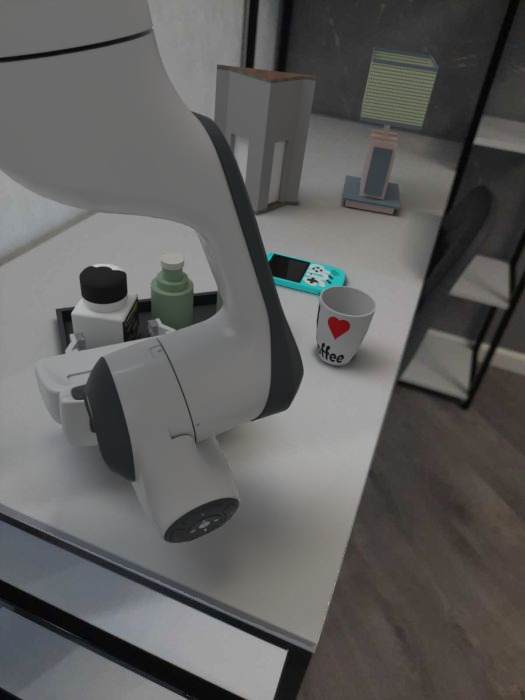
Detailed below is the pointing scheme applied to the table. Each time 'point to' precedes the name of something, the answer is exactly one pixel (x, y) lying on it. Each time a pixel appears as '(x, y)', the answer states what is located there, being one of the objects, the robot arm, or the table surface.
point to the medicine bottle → (105, 307)
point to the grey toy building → (265, 129)
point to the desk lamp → (389, 122)
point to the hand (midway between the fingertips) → (115, 330)
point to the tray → (141, 316)
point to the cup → (342, 323)
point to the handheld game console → (304, 273)
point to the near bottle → (172, 293)
